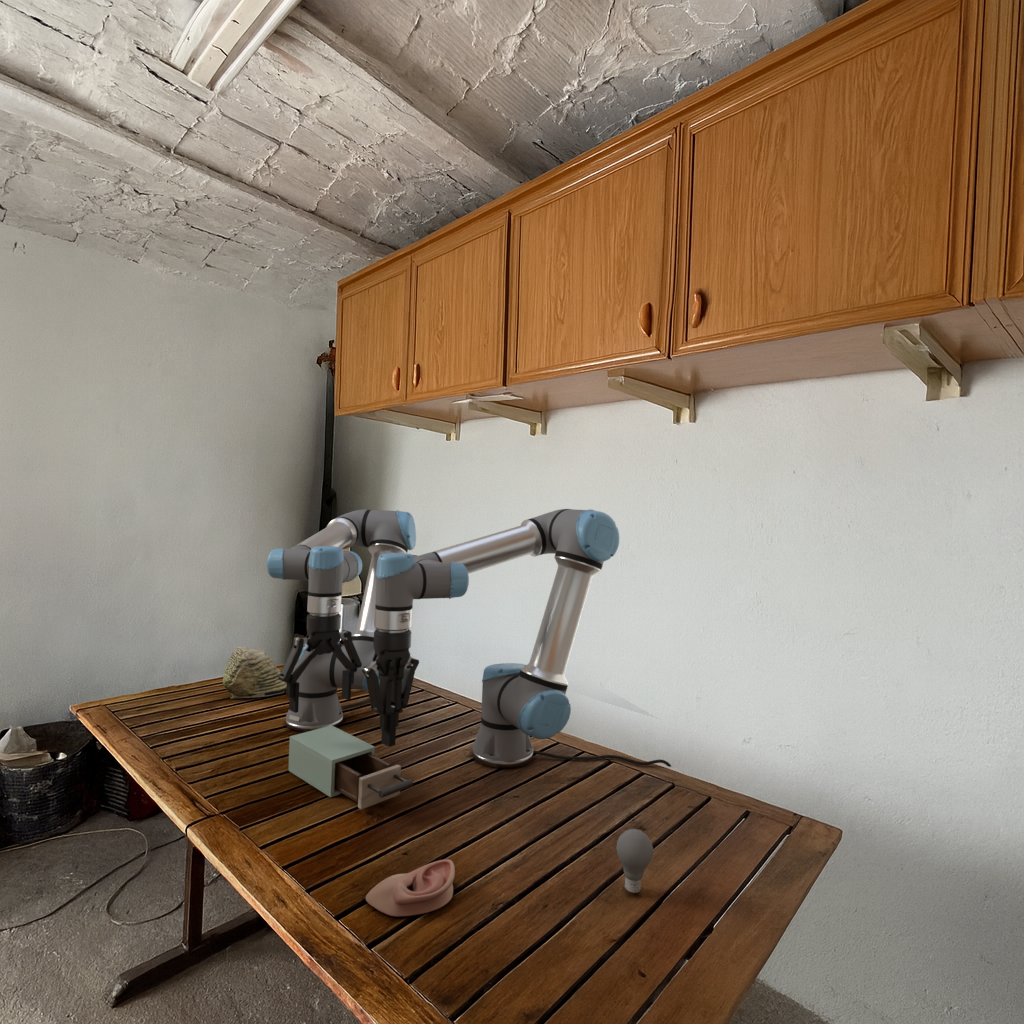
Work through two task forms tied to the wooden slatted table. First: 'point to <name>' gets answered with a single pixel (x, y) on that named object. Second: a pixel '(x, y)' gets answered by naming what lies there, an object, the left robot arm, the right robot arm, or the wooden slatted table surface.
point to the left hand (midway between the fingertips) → (320, 704)
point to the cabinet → (323, 755)
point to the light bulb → (634, 857)
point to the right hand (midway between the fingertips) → (388, 743)
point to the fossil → (252, 674)
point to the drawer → (369, 779)
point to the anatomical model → (414, 890)
